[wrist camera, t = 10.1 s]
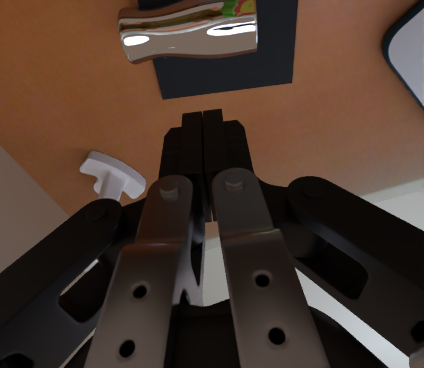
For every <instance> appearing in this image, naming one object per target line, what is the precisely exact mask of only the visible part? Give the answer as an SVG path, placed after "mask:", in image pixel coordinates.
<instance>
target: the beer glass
mask: <svg viewBox="0 0 424 368" xmlns="http://www.w3.org/2000/svg"><path fill="white" fill-rule="evenodd" d="M118 31H119V37H120V41H121V44H122V47H123V50H124V53H125V55H126V57H127V59H128V60H129V61H130V62H131V63H132V64H134V65H136V64H140V63H143V62H146V61H149V60H153V59H157V58H186V59H204V60H212V59H223V58H230V57H236V56H241V55H246V54H251V53H257V9H256V0H177V1H174V2H172V3H169V4H166V5H163V6H159V7H154V8H146V9H143V8H121V9H120V11H119V13H118Z"/></svg>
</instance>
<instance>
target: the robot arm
mask: <svg viewBox="0 0 424 368" xmlns="http://www.w3.org/2000/svg"><path fill="white" fill-rule="evenodd" d="M211 209H212V215H213V220H214V221H217V223H218V229H219V235H220V242H221V248H222V254H223V260H224V266H225V273H226V279H227V284H228V290H229V297H230V299H227V300H225V301H221V302H219V303H216V304H213V305H211V306H205V307H204V306H203V297H202V288H203V287H202V286H203V273H204V257H205V237H204V236H205V223H206V222H212V216H211ZM96 259H97V260H98V262H97V263H96V264H95V265H94V266H93V267H92V268H91V269H90V270H89V271H88V272H87V273H85V274H84V275H83V276H82V277H81V278H80V279H79V280H78V281H77V282H76V283H75V284H74V285H73V286H72V287H71V288H70V289H69V290H68V291H67V292H65V293H64V294H63V295H61V296H60V294H61V293H62V291H63V290H64V289H65V288H66V287H67V286H68V285H69V284H70V283H71V282H72V281H73V280H74V279H76V277H77V276H79V275H80V274H81V273H82V272H83V271H84V270H85V269H86V268H87V267H88V266H89V265H90V264H92V263H93V262H94V261H95V260H96ZM295 268H297V269H298V270H299V271H300V272H302V273H303V274H304V275H305V276H307V277H308V278H309V279H310V280H312V281H313V282H314V283H316V284H317V285H318V286H319V287H321V288H322V289H323V290H324V291H326V292H327V293H328V294H329V295H331V296H332V297H333V298H335V299H336V300H337V301H338V302H340V303H341V304H342V305H343V306H345V307H346V308H347V309H349V310H350V311H351V312H352V313H353V314H355V315H356V316H357V317H358V318H360V319H361V320H362V321H363V322H365V323H366V324H368V325H369V326H370V327H371V328H372V329H374V330H375V331H376V332H377V333H379V334H380V335H381V336H382V337H384V338H385V339H386V340H387V341H389V342H390V343H391V344H393V345H394V346H395V347H396V348H398V349H399V350H400V351H401V352H403V353H404V354H405V355H406V356H408V357H409V366H410V368H424V231H423V230H421V229H419V228H417V227H415V226H413V225H411V224H409V223H407V222H406V221H404V220H402V219H400V218H398V217H396V216H394V215H392V214H390V213H388V212H386V211H385V210H383V209H381V208H379V207H377V206H375V205H373V204H371V203H370V202H368V201H366V200H364V199H362V198H360V197H358V196H356V195H354V194H352V193H351V192H349V191H347V190H345V189H343V188H341V187H339V186H337V185H335V184H333V183H332V182H330V181H328V180H326V179H323V178H320V177H315V176H305V177H300V178H297V179H295V180H294V181H292V182H291V183H290V184H289V186H288V187H282V186H275V185H270V184H267V183H265V182H263V181H261V180H260V179H259V178H258V177H257V176H256V175H255V173H254V171H253V167H252V162H251V157H250V153H249V148H248V144H247V139H246V134H245V129H244V126H243V125H242V124H241V123H240V122H238V121H237V120H232V121H224V122H223V115H222V109H214V110H206V111H203V115H202V111H199V112H191V113H183V115H182V127H176V128H171V129H170V130H169V131H168V133H167V134H166V135H165V136H164V143H163V150H162V157H161V164H160V171H159V178H158V180H156V181H155V182H154V183H153V184H152V185H151V186H150V188H149V190H148V192H147V196H146V197H145V198H143V199H141V200H139V201H137V202H134V203H131V204H128V205H126V206H123V207H122V206H121V204H120V203H119V202H118V201H117V200H115V199H111V198H102V199H98V200H95V201H92V202H90V203H89V204H87V205H86V206H84V207H83V208H82V209H80V210H79V211H78V212H77V213H75V214H74V215H73V216H71V217H70V218H69V219H68V220H67V221H65V222H64V223H63V224H61V225H60V226H59V227H58V228H56V229H55V230H54V231H53V232H51V233H50V234H49V235H48V236H46V237H45V238H44V239H43V240H41V241H40V242H39V243H38V244H36V245H35V246H34V247H33V248H31V249H30V250H29V251H27V252H26V253H25V254H24V255H22V256H21V257H20V258H19V259H17V260H16V261H15V262H14V263H13V264H11V265H10V266H9V267H7V268H6V269H5V270H4V271H2V272H1V273H0V368H59V367H60V366H61V365H62V364H63V363H64V361H65V360H66V359H67V358H68V357H69V356H70V355H71V354H72V353H73V352H74V350H75V349H76V348H77V347H78V346H79V345H80V344H81V343H82V342H83V341H84V339H85V338H86V337H87V336H88V335H89V334H90V333H91V332H92V331H93V330H94V329H95V327H96V330H95V333H94V335H93V336H92V337H91V338H90V339H89V340H88V341H87V342H86V343H85V344H84V345H83V346H82V347H81V348H80V349H79V350H78V352H77V353H76V354H75V355H74V356H73V358H72V359H71V360H70V361H69V362H68V363H67V364H66V366H65V367H64V368H388V367H387V366H386V365H385V364H384V363H383V362H382V361H381V360H379V359H378V358H377V357H376V356H375V355H374V354H373V353H372V352H370V351H369V350H368V349H367V348H366V347H365V346H364V345H363V344H361V343H360V342H359V341H358V340H357V339H356V338H354V336H352V335H351V334H350V333H349V332H348V331H347V330H346V329H345V328H343V327H342V326H341V325H340V324H339V323H338V322H336V321H335V320H334V319H332V318H331V317H329V316H328V315H326V314H325V313H323V312H321V311H319V310H318V309H316V308H313V307H311V306H309V305H308V304H307V301H306V298H305V295H304V292H303V289H302V287H301V284H300V281H299V279H298V276H297V273H296V270H295Z"/></svg>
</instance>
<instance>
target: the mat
mask: <svg viewBox="0 0 424 368" xmlns="http://www.w3.org/2000/svg"><path fill="white" fill-rule="evenodd" d="M174 1H177V0H138V3H139V7H140V8H143V9H146V8H154V7H159V6H163V5H166V4H169V3H172V2H174ZM297 7H298V0H256V9H257V53H251V54H246V55H241V56H236V57H230V58H223V59H212V60H204V59H186V58H157V59H153V62H154V66H155V70H156V74H157V78H158V82H159V86H160V90H161V94H162V98H163V100H164V99H171V98H179V97H187V96H195V95H202V94H210V93H218V92H225V91H233V90H241V89H249V88H256V87H264V86H272V85H280V84H287V83H292V76H293V62H294V48H295V35H296V21H297Z"/></svg>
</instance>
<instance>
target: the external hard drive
mask: <svg viewBox="0 0 424 368" xmlns="http://www.w3.org/2000/svg"><path fill="white" fill-rule="evenodd" d="M382 50H383V55H384V58H385V60H386V61H387V63H388V64H389V66H390V67H391V68H392V70H393V71H394V72H395V73H396V75H397V76H398V77H399V79H400V80H401V81H402V83H403V84H404V85H405V86H406V88H407V89H408V90H409V92H410V93H411V94H412V96H413V97H414V98H415V99H416V101H417V102H418V103H419V105H420V106H421V107H422V109H423V110H424V0H422V1H420V2H419V3H418V4H417V5H416V6H415V7H414V8H413V9H411V10H410V11H409V12H408V13H407V14H406V15H405V16H404V17H402V18H401V19H400V20H399V21H398V22H397V23H396V24H395V25H394V26H393V27H392V28H391V29H390V30H389V32H388V33H387V35H386V37H385V38H384V41H383V47H382Z"/></svg>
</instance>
